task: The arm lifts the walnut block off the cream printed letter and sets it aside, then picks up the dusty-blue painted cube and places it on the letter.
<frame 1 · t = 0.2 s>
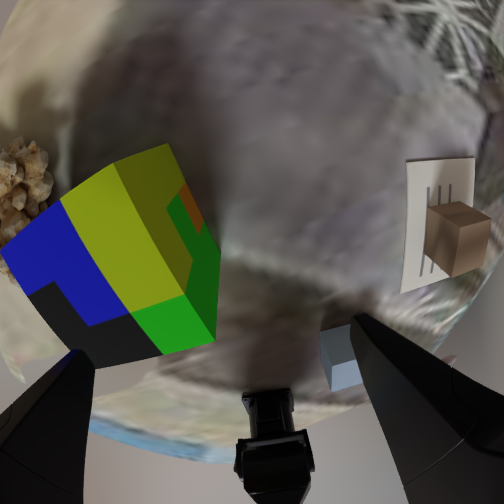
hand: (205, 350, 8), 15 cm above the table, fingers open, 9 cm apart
letter: (441, 225, 23), on the table
puzzle toy: (142, 224, 21), on the table
blue cube: (340, 340, 29), on the table
mineral formation: (20, 202, 19), on the table
walnut block: (442, 226, 23), resting on letter
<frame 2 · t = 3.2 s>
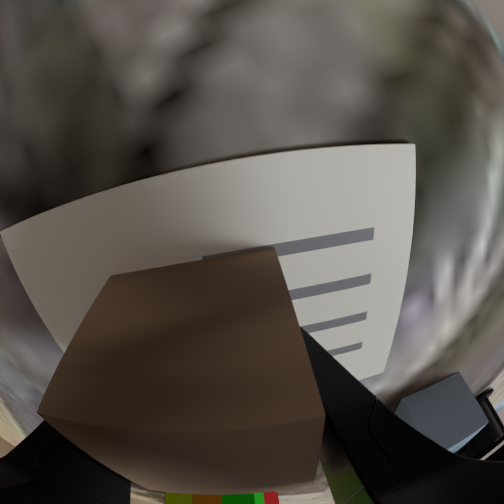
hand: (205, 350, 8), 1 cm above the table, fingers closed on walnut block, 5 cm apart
letter: (207, 324, 9), on the table
puzzle toy: (225, 490, 22), on the table
blue cube: (421, 402, 14), on the table
walnut block: (207, 328, 9), resting on letter, touching gripper
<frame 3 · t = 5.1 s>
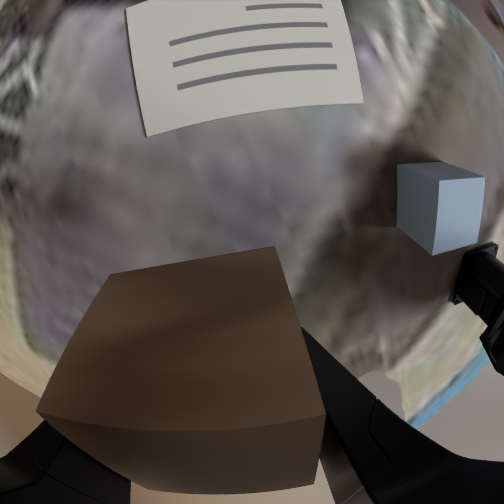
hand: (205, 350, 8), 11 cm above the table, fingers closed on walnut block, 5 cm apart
letter: (244, 40, 13), on the table
blue cube: (420, 193, 18), on the table
walnut block: (207, 327, 9), point 10 cm above the table, touching gripper
when the fingers open (2 cm above the table, at t = 7.0 s): walnut block drops 1 cm, on the table.
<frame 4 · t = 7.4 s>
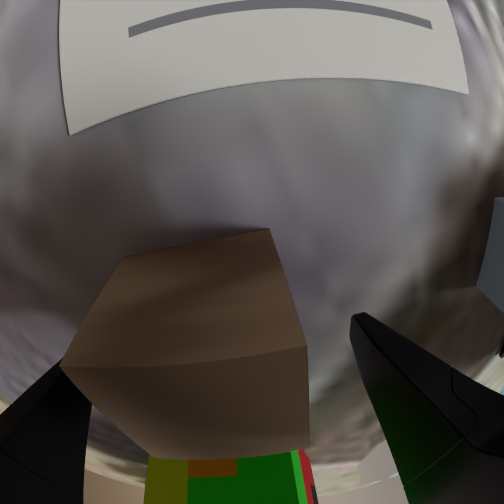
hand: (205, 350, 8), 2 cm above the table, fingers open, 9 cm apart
puzzle toy: (238, 453, 17), on the table
walnut block: (210, 303, 10), on the table
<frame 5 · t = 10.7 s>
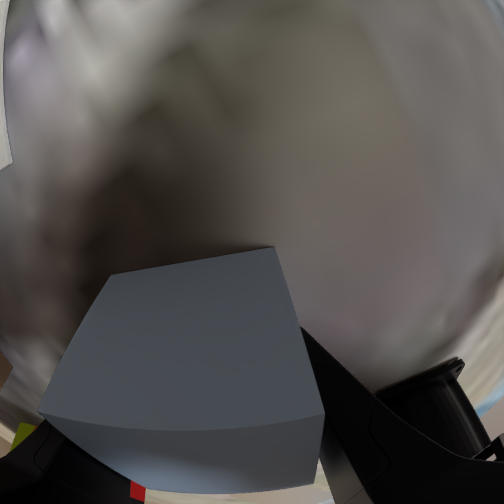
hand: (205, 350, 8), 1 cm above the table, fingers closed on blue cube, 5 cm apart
puzzle toy: (80, 451, 16), on the table
blue cube: (207, 327, 9), on the table, touching gripper
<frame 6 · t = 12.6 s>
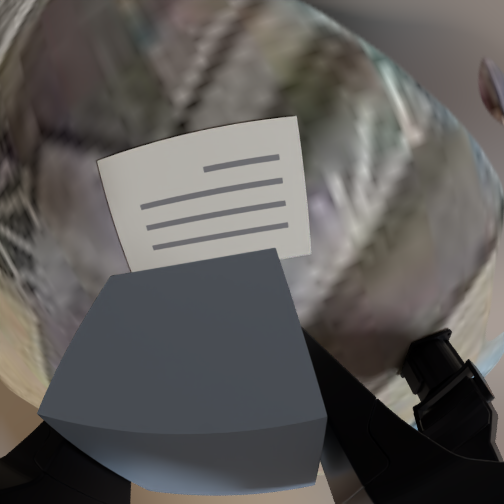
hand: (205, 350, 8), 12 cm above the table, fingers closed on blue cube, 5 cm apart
letter: (203, 204, 18), on the table
blue cube: (207, 328, 9), point 11 cm above the table, touching gripper
when the fingers open (2 cm above the table, at t = 14.6 s): blue cube drops 1 cm, resting on letter.
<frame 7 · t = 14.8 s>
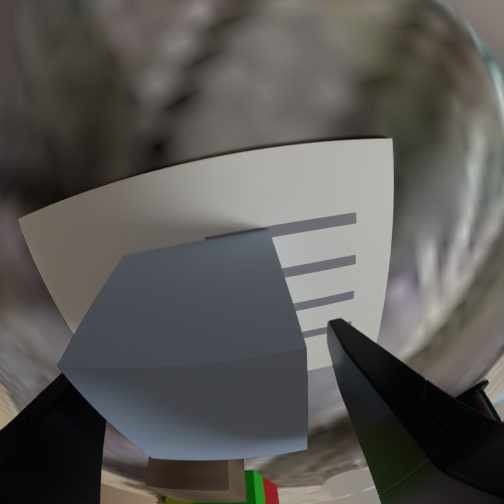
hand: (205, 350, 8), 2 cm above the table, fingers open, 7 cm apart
letter: (209, 301, 10), on the table
puzzle toy: (225, 481, 23), on the table
blue cube: (209, 304, 10), resting on letter
mineral formation: (198, 496, 29), on the table
walnut block: (200, 436, 15), on the table
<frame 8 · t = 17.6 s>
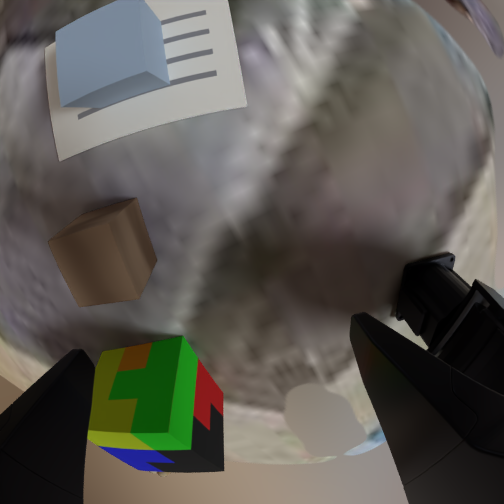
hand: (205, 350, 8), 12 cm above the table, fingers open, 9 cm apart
letter: (129, 64, 13), on the table
puzzle toy: (163, 373, 26), on the table
blue cube: (129, 63, 13), resting on letter
walnut block: (118, 236, 19), on the table
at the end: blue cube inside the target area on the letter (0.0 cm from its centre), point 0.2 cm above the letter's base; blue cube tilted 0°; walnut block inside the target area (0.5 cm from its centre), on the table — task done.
